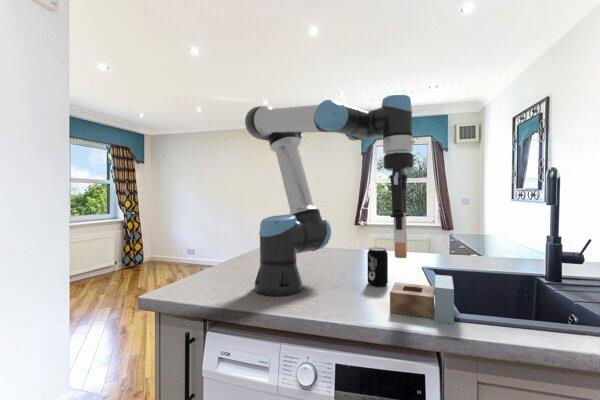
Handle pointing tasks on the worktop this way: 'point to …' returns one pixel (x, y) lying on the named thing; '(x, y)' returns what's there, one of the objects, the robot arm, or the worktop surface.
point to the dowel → (401, 246)
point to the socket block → (412, 299)
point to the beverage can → (377, 267)
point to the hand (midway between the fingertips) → (400, 241)
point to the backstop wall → (444, 299)
